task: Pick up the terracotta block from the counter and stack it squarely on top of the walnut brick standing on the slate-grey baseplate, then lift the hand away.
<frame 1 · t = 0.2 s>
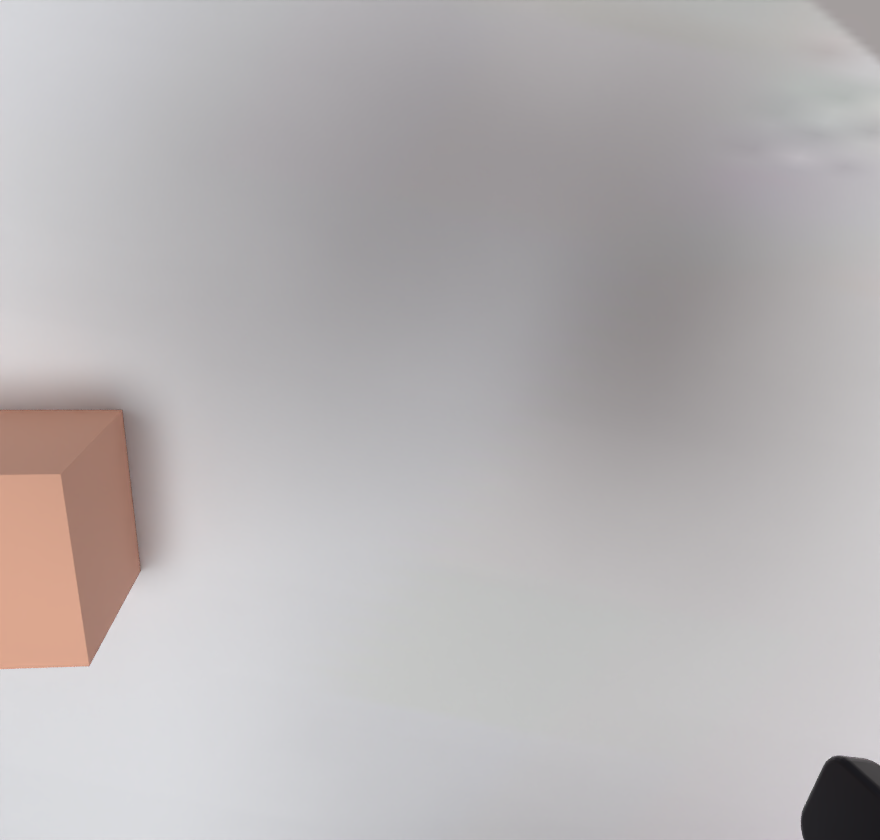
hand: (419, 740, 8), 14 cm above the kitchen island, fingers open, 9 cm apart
terracotta block: (41, 492, 21), on the kitchen island
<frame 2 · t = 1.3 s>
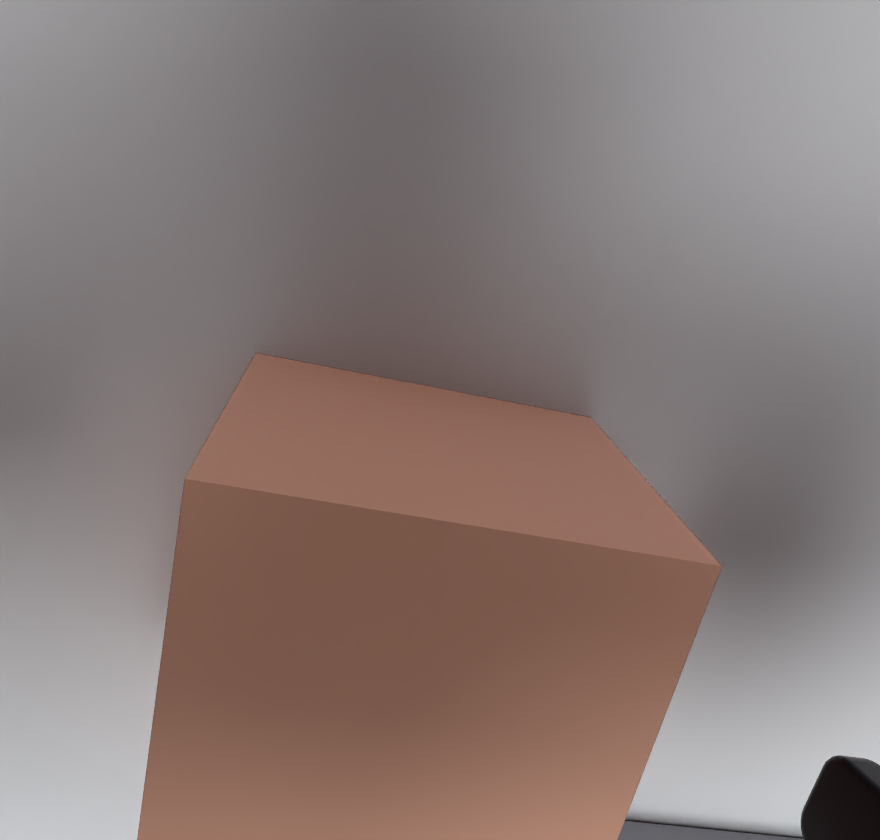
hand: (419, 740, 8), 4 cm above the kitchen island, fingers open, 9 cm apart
terracotta block: (394, 534, 12), on the kitchen island
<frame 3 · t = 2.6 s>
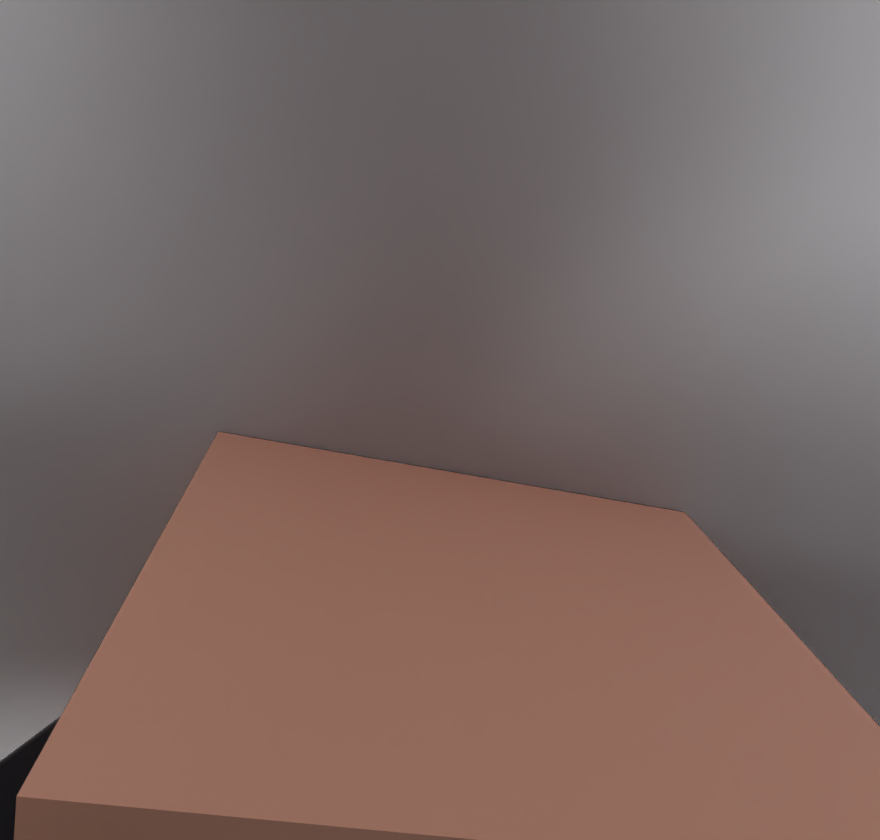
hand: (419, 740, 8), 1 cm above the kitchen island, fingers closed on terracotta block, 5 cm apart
terracotta block: (413, 673, 9), on the kitchen island, touching gripper
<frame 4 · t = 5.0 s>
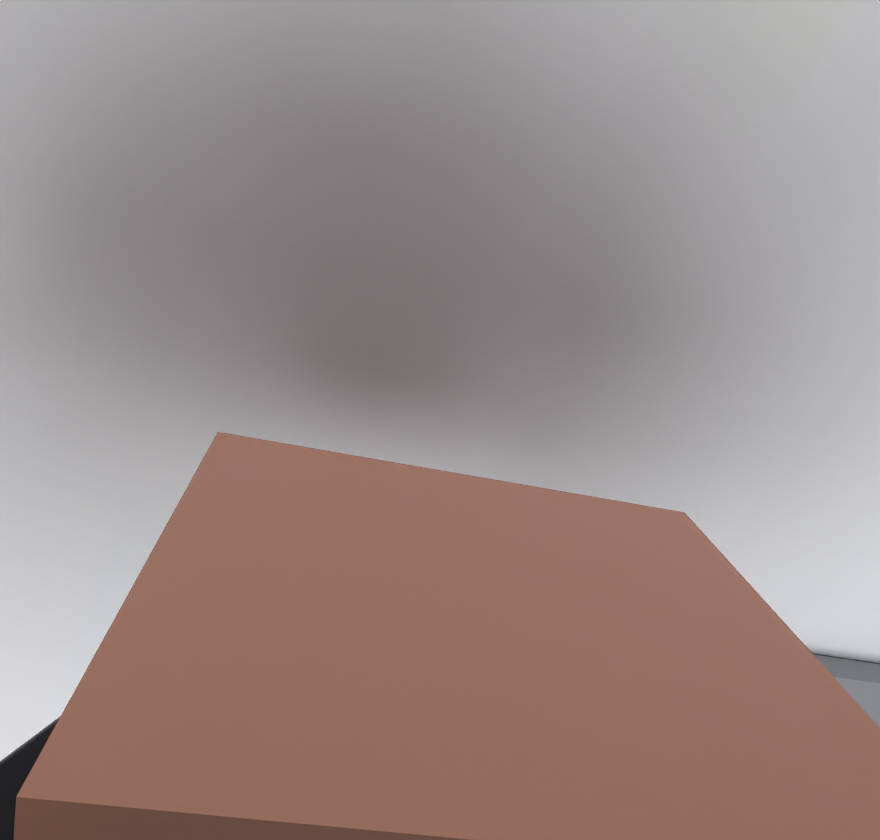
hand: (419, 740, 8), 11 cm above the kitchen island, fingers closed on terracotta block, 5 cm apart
terracotta block: (413, 673, 9), point 10 cm above the kitchen island, touching gripper
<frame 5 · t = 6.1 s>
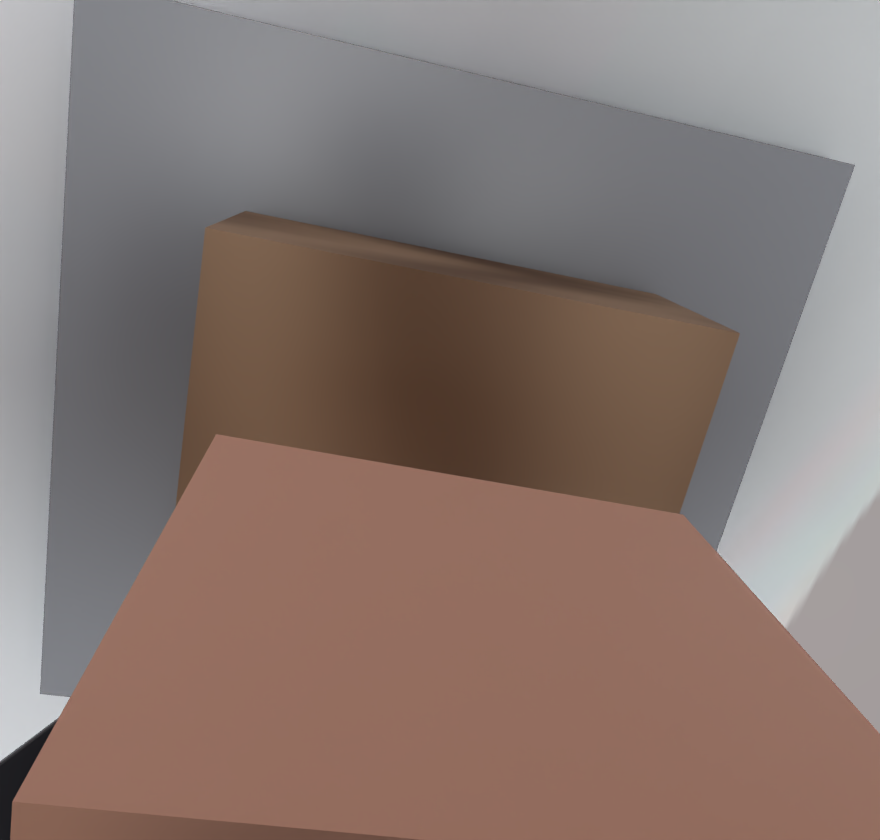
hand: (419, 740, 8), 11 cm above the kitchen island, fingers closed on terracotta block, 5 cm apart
baseplate: (415, 433, 18), on the kitchen island
walnut brick: (424, 483, 15), on the baseplate, point 3 cm above the kitchen island
terracotta block: (411, 675, 9), point 10 cm above the kitchen island, touching gripper
when the fingers open (7 cm above the kitchen island, at t = 7.2 s): terracotta block drops 1 cm, resting on walnut brick.
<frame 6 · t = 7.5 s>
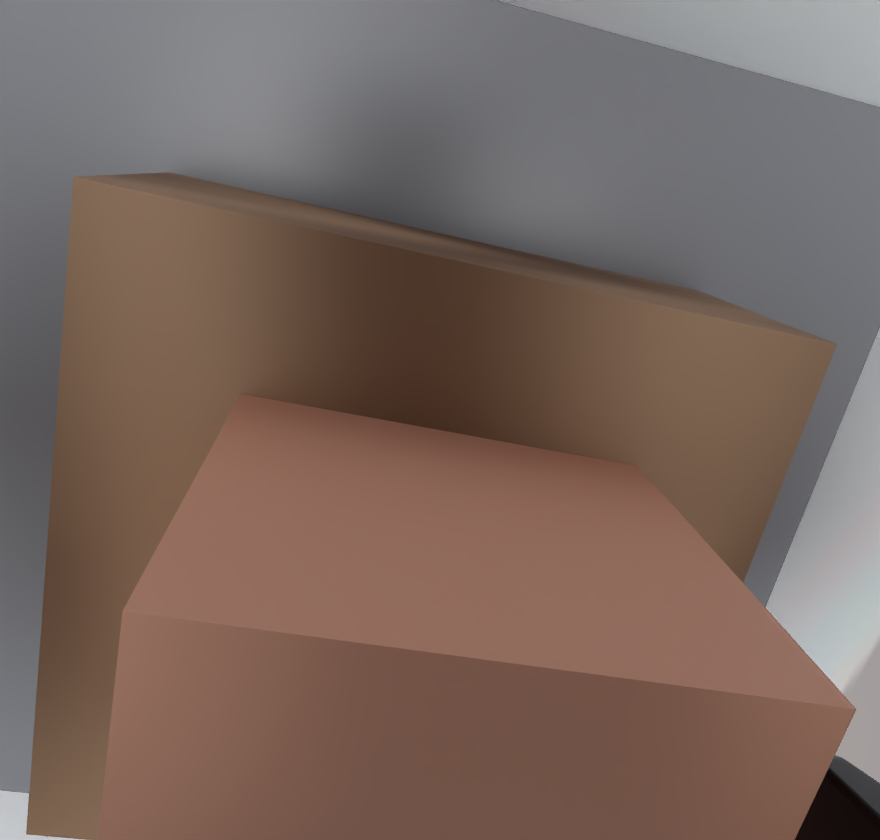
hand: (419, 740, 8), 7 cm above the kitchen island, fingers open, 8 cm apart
baseplate: (393, 462, 15), on the kitchen island
walnut brick: (399, 534, 12), on the baseplate, point 3 cm above the kitchen island
terracotta block: (405, 606, 10), point 5 cm above the kitchen island, touching walnut brick
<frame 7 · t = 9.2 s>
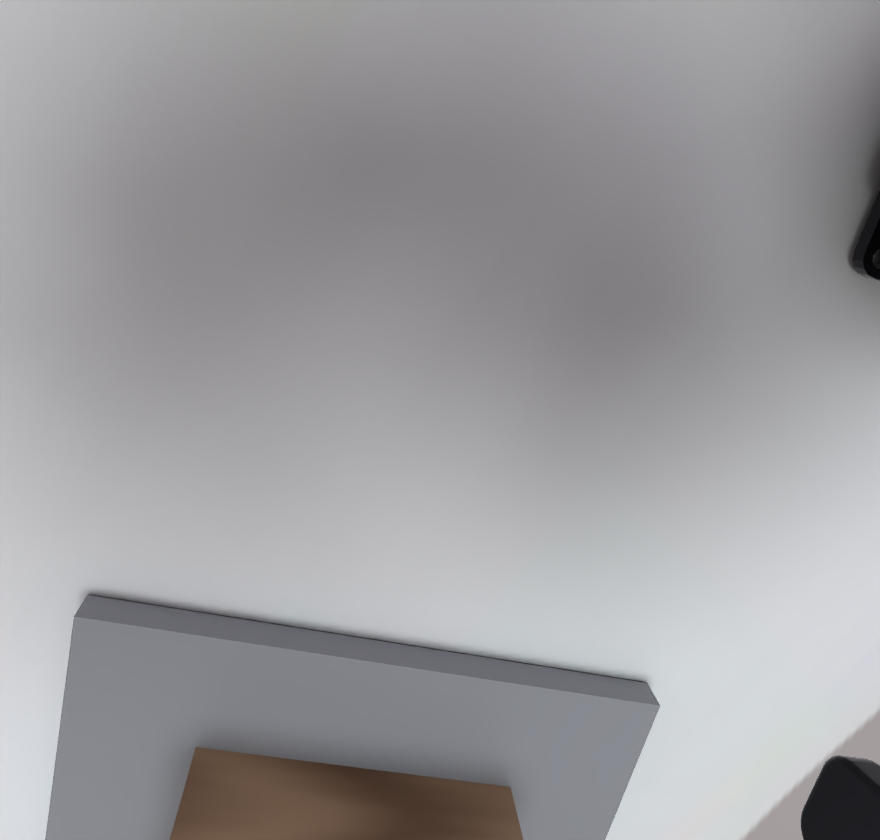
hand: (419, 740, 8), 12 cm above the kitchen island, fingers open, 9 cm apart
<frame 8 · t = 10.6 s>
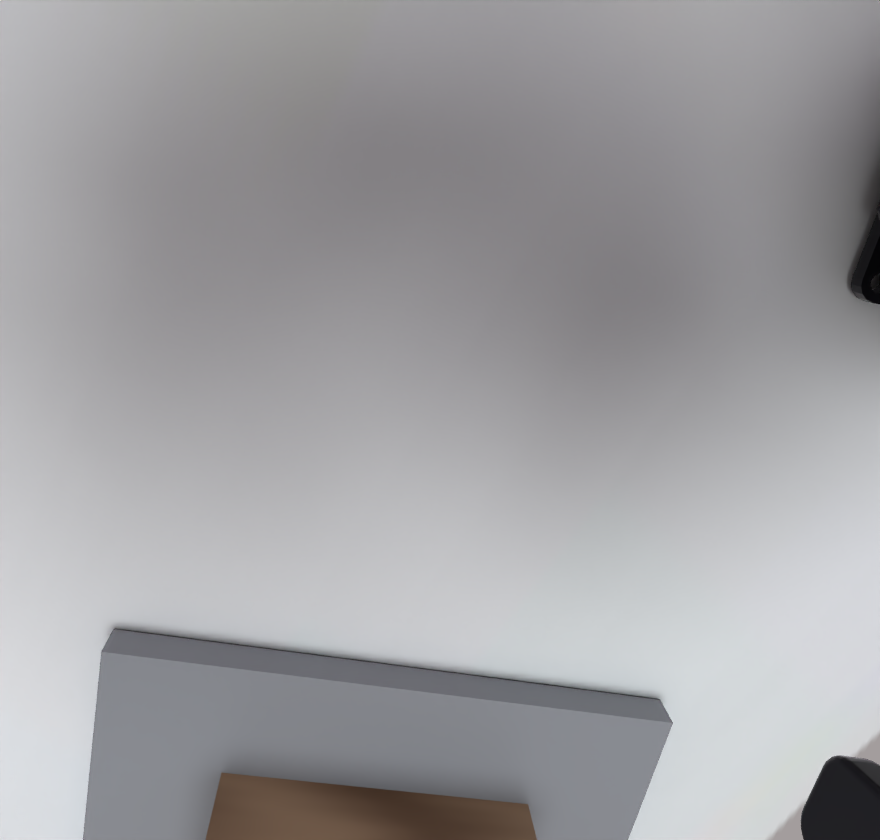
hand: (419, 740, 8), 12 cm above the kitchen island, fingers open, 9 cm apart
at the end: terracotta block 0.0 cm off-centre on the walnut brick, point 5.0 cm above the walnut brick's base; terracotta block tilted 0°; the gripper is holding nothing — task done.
